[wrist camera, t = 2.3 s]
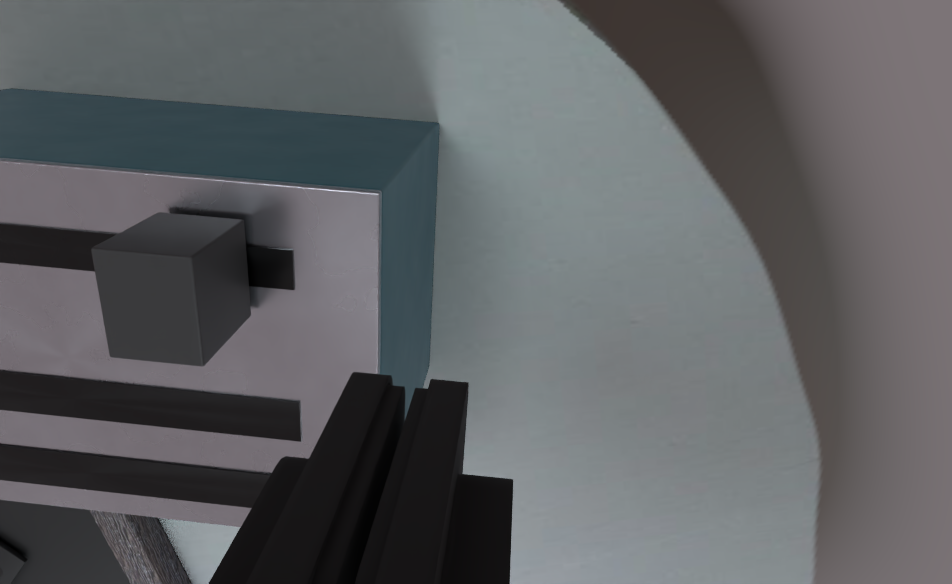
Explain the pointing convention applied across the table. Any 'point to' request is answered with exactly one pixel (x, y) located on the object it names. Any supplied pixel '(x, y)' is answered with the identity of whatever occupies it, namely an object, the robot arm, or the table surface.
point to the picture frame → (83, 547)
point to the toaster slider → (173, 287)
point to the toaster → (270, 286)
